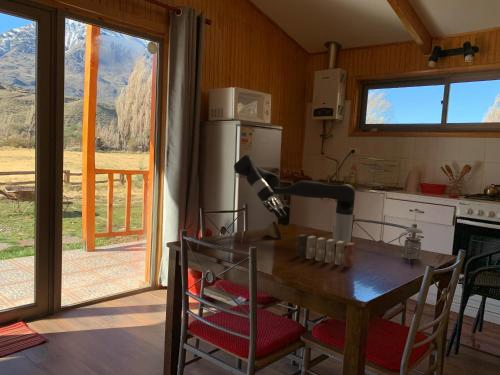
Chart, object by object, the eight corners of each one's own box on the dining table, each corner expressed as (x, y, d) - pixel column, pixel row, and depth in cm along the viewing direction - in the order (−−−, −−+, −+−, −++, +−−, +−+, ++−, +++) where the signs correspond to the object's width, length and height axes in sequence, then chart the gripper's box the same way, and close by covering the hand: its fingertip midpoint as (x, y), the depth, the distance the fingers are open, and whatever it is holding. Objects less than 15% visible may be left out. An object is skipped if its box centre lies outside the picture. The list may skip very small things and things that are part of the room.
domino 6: (344, 266, 178) (346, 244, 177) (347, 263, 182) (349, 242, 181) (350, 267, 177) (352, 245, 176) (353, 264, 181) (355, 243, 180)
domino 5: (334, 264, 180) (336, 242, 179) (337, 261, 185) (339, 240, 184) (339, 265, 179) (341, 243, 178) (343, 262, 183) (345, 241, 182)
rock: (262, 230, 233) (264, 231, 223) (271, 219, 234) (273, 220, 224) (276, 242, 233) (278, 244, 223) (285, 231, 234) (288, 232, 224)
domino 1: (296, 256, 189) (298, 235, 188) (300, 254, 194) (302, 234, 193) (301, 257, 188) (303, 236, 187) (305, 255, 192) (307, 234, 191)
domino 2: (306, 258, 187) (307, 237, 186) (309, 256, 191) (311, 235, 190) (310, 259, 186) (312, 238, 185) (314, 257, 190) (316, 236, 189)
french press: (423, 261, 196) (429, 210, 194) (398, 258, 198) (404, 208, 196) (419, 256, 206) (424, 208, 203) (395, 253, 208) (400, 206, 206)
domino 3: (315, 260, 185) (317, 239, 184) (319, 258, 189) (320, 237, 188) (320, 261, 184) (322, 239, 183) (323, 258, 188) (325, 238, 187)
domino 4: (324, 262, 183) (326, 240, 182) (328, 259, 187) (330, 238, 186) (329, 263, 181) (331, 241, 180) (333, 260, 186) (335, 239, 185)
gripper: (264, 193, 207) (283, 220, 202) (250, 195, 195) (270, 223, 190) (274, 184, 204) (294, 211, 199) (261, 185, 192) (281, 214, 187)
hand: (282, 217), depth 195 cm, fingers open, 5 cm apart
